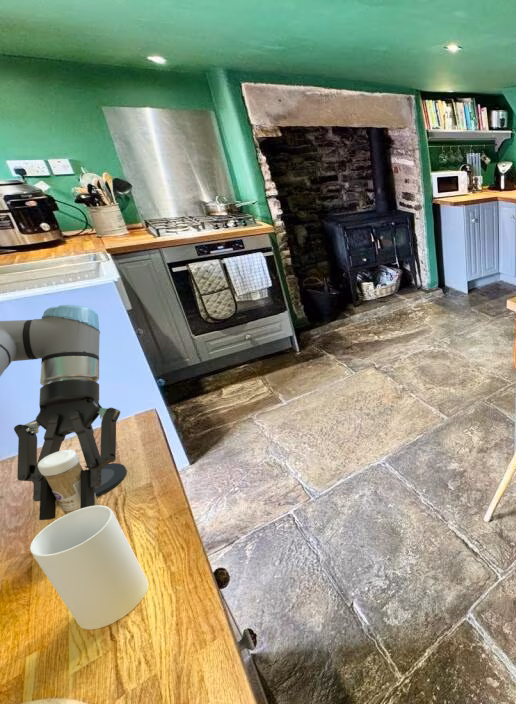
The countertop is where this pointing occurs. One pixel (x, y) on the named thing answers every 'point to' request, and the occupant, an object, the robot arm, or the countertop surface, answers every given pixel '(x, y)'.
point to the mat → (110, 477)
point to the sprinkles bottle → (64, 478)
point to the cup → (91, 566)
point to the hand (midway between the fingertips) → (67, 513)
